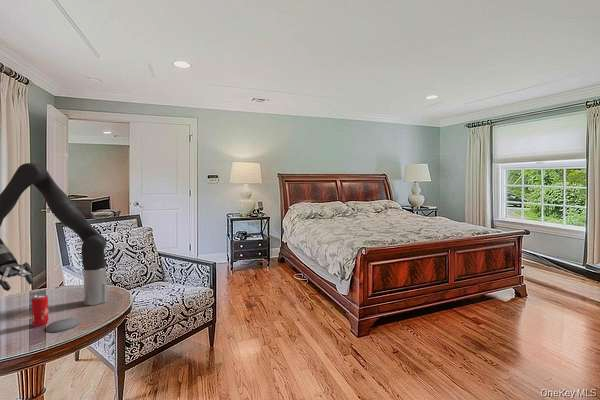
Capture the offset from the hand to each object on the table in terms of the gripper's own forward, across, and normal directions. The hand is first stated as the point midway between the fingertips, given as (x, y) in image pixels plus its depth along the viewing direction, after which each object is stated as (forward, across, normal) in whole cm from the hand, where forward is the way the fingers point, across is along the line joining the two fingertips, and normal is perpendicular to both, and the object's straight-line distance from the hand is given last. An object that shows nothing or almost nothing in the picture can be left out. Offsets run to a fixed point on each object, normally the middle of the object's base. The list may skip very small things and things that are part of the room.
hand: (20, 286), depth 132 cm
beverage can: (+18, 0, +3) cm, 19 cm away
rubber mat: (+26, +2, -4) cm, 26 cm away
